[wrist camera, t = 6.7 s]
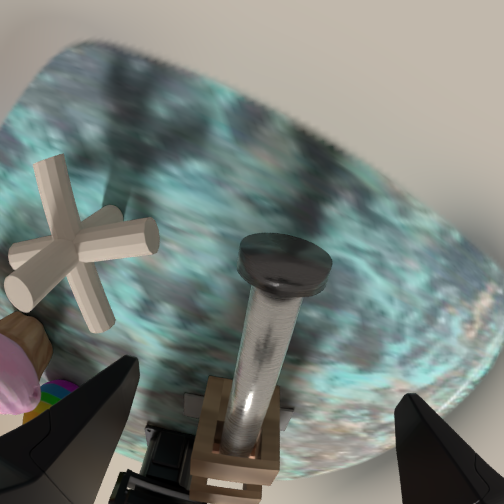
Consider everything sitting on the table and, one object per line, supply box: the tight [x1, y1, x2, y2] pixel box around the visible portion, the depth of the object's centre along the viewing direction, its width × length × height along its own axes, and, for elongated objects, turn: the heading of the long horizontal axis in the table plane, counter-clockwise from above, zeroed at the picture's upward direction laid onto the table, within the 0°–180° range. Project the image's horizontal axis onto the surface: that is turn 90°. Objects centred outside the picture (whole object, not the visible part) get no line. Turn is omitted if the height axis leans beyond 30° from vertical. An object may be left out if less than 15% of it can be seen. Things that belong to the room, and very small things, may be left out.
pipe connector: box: [4, 154, 160, 333], centre depth 15 cm, size 10×10×10 cm
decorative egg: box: [22, 380, 79, 425], centre depth 24 cm, size 8×8×10 cm
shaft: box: [219, 233, 332, 458], centre depth 17 cm, size 17×4×4 cm, turn 170°
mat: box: [184, 393, 294, 431], centre depth 27 cm, size 3×10×1 cm, turn 80°
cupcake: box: [0, 311, 53, 415], centre depth 20 cm, size 9×9×10 cm
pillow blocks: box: [189, 376, 280, 504], centre depth 23 cm, size 10×6×8 cm, turn 170°
